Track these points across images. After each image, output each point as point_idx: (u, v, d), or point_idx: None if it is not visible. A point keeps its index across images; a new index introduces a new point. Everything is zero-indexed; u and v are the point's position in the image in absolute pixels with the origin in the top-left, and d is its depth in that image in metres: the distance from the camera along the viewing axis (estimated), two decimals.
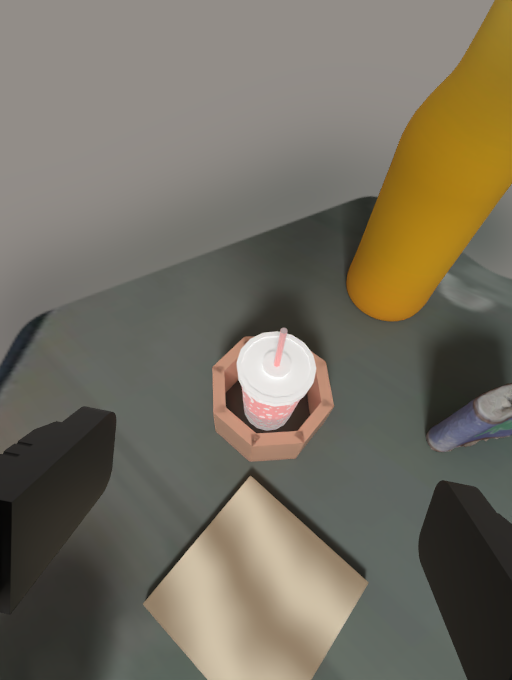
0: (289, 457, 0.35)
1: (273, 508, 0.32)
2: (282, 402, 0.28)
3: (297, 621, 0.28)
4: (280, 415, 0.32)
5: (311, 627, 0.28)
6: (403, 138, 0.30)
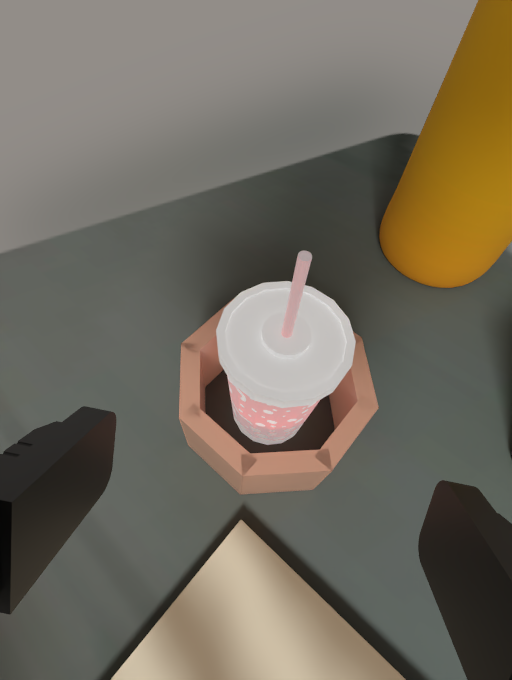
0: (303, 488, 0.22)
1: (278, 577, 0.19)
2: (297, 400, 0.16)
3: None
4: (290, 422, 0.19)
5: None
6: None
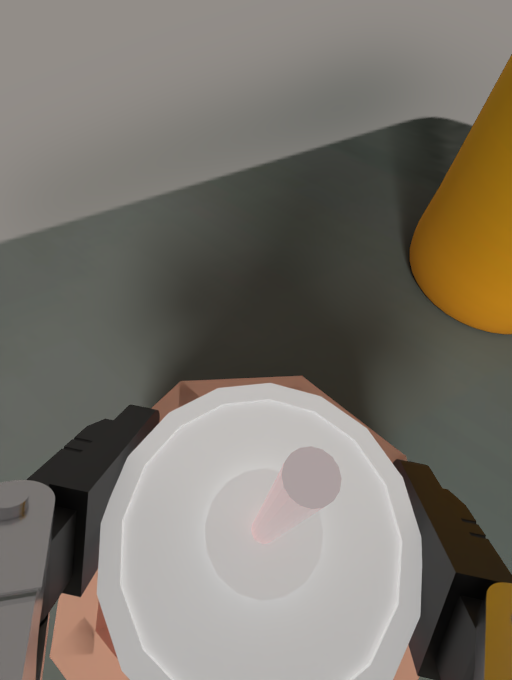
0: None
1: None
2: None
3: None
4: None
5: None
6: None
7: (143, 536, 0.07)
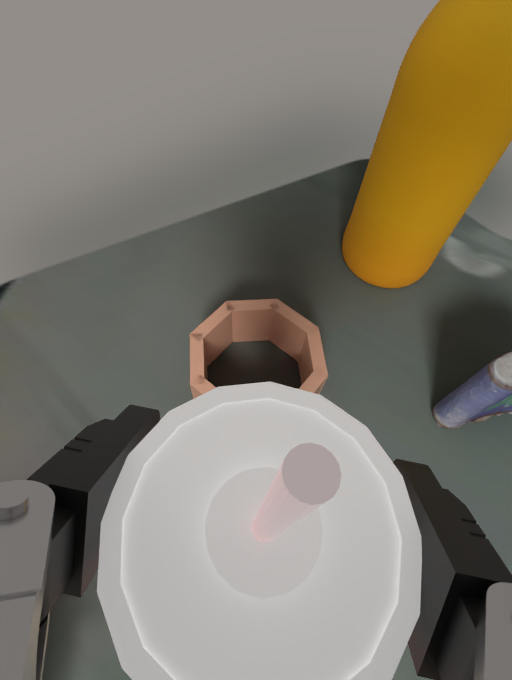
0: None
1: None
2: None
3: None
4: None
5: None
6: (404, 61, 0.26)
7: (143, 534, 0.07)
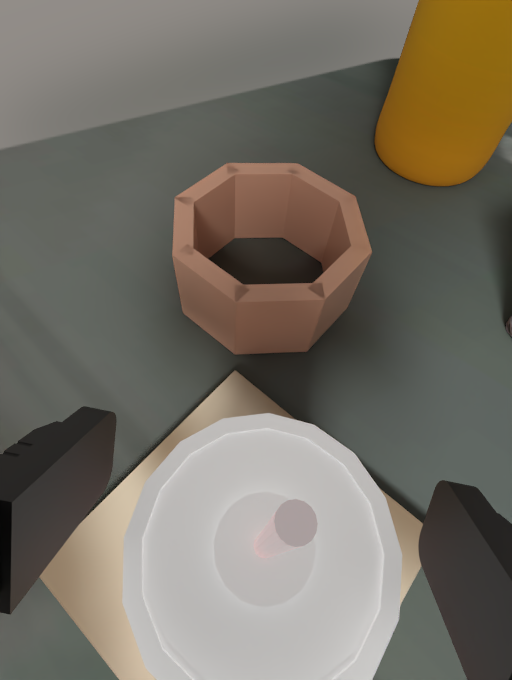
0: (297, 347, 0.22)
1: None
2: None
3: None
4: None
5: None
6: None
7: (160, 552, 0.08)
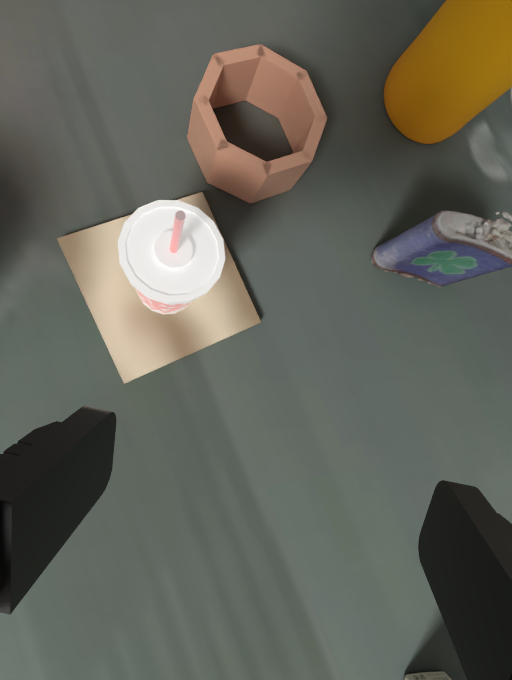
0: (245, 198, 0.34)
1: None
2: (157, 298, 0.22)
3: (188, 317, 0.31)
4: (163, 306, 0.26)
5: (197, 327, 0.31)
6: None
7: (135, 234, 0.22)
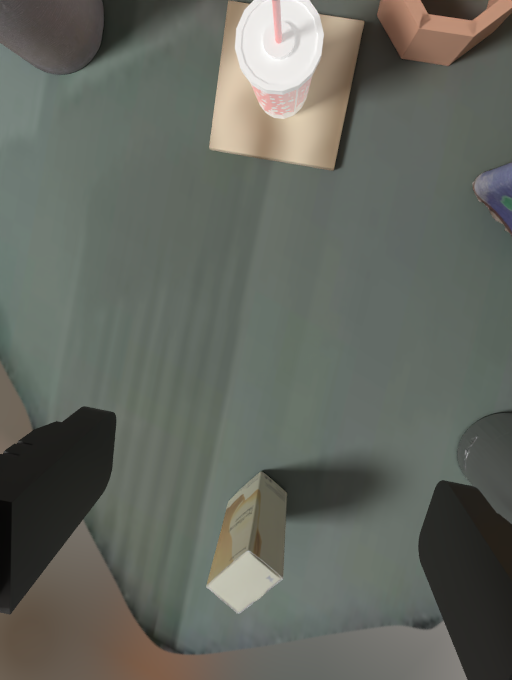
0: (399, 49, 0.34)
1: (347, 61, 0.34)
2: (245, 73, 0.27)
3: (281, 128, 0.36)
4: (258, 95, 0.31)
5: (283, 140, 0.36)
6: None
7: (260, 11, 0.26)
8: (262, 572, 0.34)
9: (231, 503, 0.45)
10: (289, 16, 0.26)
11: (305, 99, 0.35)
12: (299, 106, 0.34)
